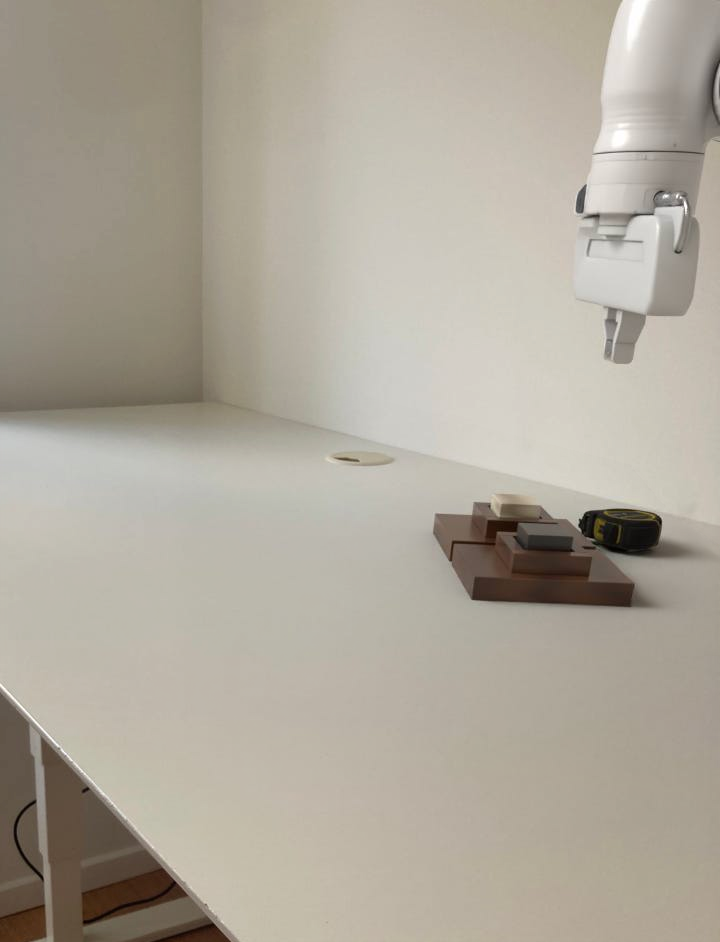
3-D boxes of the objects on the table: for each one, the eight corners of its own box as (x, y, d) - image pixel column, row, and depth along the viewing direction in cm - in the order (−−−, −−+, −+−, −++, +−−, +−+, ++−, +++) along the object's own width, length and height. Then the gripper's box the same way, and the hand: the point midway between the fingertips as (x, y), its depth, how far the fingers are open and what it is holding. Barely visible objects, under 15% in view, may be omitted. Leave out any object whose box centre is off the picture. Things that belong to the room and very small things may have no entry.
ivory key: (528, 511, 105) (531, 494, 105) (538, 522, 101) (541, 505, 101) (489, 509, 105) (492, 493, 105) (498, 520, 101) (501, 503, 101)
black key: (558, 542, 95) (561, 524, 94) (570, 555, 91) (573, 536, 91) (515, 540, 95) (518, 522, 94) (525, 553, 91) (528, 534, 91)
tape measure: (627, 536, 111) (634, 502, 110) (671, 555, 105) (678, 519, 104) (574, 540, 109) (580, 506, 108) (616, 559, 103) (623, 523, 102)
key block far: (563, 538, 109) (569, 502, 108) (592, 568, 100) (599, 528, 99) (432, 533, 109) (436, 496, 108) (449, 561, 100) (454, 522, 99)
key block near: (595, 571, 99) (602, 531, 98) (630, 607, 90) (639, 563, 88) (451, 565, 99) (456, 525, 98) (471, 600, 90) (477, 556, 88)
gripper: (734, 190, 77) (699, 378, 82) (636, 197, 96) (613, 349, 101) (650, 188, 77) (621, 377, 82) (569, 195, 96) (550, 348, 101)
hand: (616, 361), depth 92 cm, fingers closed
